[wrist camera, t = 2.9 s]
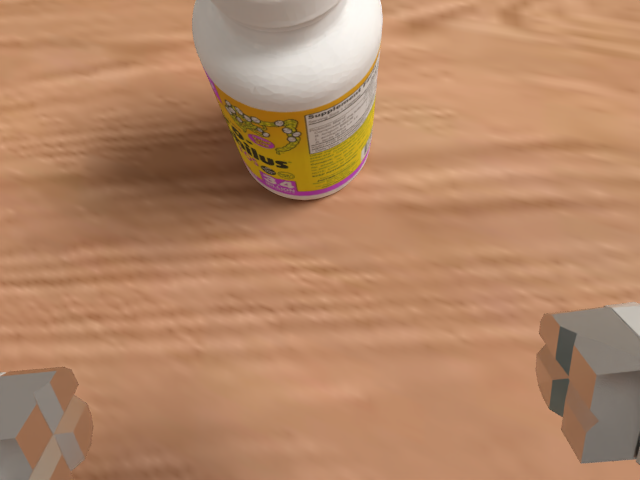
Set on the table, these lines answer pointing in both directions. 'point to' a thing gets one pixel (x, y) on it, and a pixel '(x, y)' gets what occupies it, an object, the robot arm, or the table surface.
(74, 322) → the table surface
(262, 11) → the supplement bottle
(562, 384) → the robot arm
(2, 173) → the table surface
